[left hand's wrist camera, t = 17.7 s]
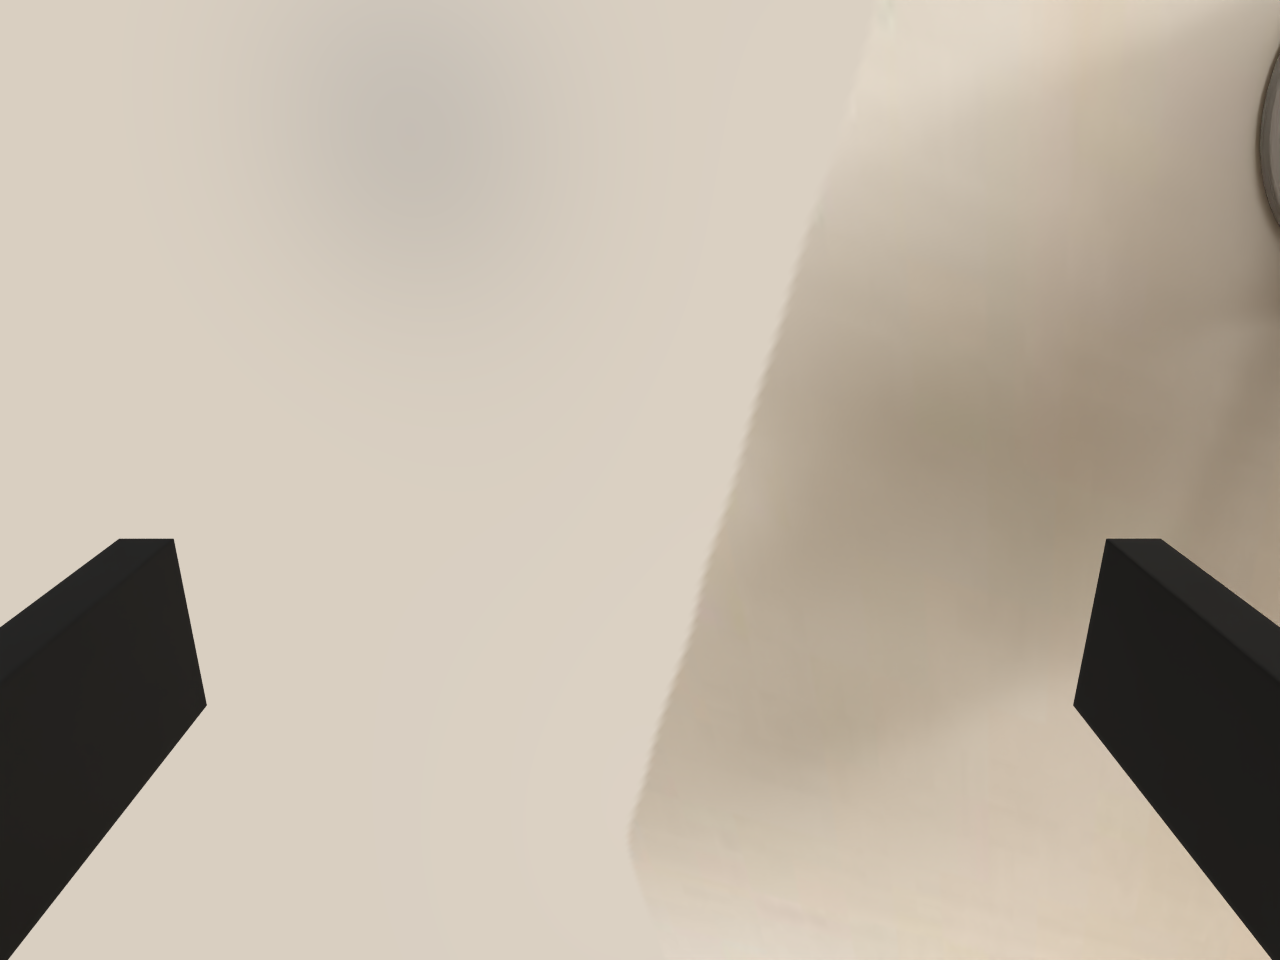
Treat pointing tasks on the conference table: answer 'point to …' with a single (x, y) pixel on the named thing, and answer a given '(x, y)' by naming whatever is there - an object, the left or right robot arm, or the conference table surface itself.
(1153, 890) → the conference table surface
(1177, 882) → the conference table surface
